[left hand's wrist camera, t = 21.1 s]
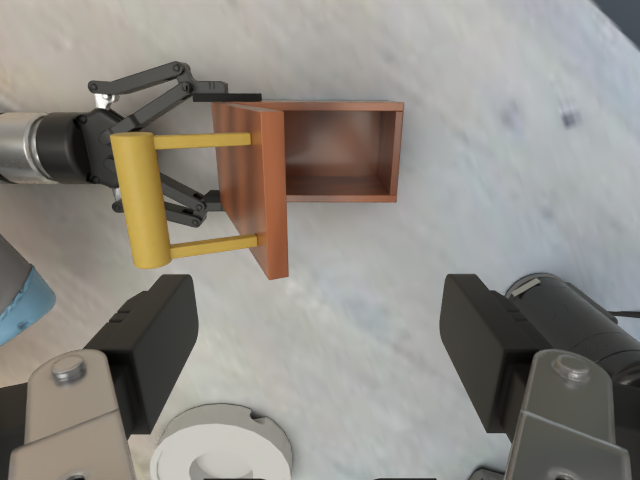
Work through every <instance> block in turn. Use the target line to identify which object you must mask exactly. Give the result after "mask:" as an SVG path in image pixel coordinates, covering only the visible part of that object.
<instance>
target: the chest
mask: <svg viewBox="0 0 640 480" xmlns="http://www.w3.org/2000/svg"><path fill="white" fill-rule="evenodd" d="M225 102H227V103H233V104H240V105H246V106H253V107H259V108H266V109H273V110H279V111H284V137H285V171H286V202H396V200H397V186H398V174H399V161H400V148H401V135H402V122H403V110H404V103H402V102H395V101H388V100H262V101H258V102H246V101H225Z"/></svg>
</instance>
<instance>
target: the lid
mask: <svg viewBox="0 0 640 480" xmlns="http://www.w3.org/2000/svg"><path fill="white" fill-rule="evenodd" d="M211 104H212V115H213V126H214V133H209V134H181V135H154V134H153V133H150V132H125V133H115V134H111V135H110V140H111V145H112V151H113V156H114V161H115V166H116V172H117V177H118V182H119V188H120V193H121V198H122V203H123V209H124V214H125V219H126V225H127V230H128V235H129V240H130V246H131V251H132V256H133V262H134V265H135V266H136V267H137V268H141V269H152V268H158V267H162V266H164V265H167V264H168V263H170V262H171V260H172V259H174V258H181V257H188V256H195V255H202V254H208V253H215V252H222V251H229V250H236V249H243V248H249V249H250V251H251V253H252V254H253V256H254V257H255V259H256V261H257V262H258V264H259V265H260V267H261V268H262V270H263V272H264V273H265V275H266V276H267V278H268V279H269V280H273V279H278V278H284V277H288V276H289V274H288V239H287V205H286V171H285V137H284V111H279V110H273V109H266V108H259V107H253V106H246V105H240V104H233V103H227V102H211ZM201 147H216V158H217V169H218V179H219V190H220V201H221V205H222V207H223V208H224V210H225V211H226V213H227V215H228V216H229V218H230V219H231V221H232V223H233V224H234V226H235V227H236V229H237V230H238V232H239V234H240V236H233V237H225V238H217V239H210V240H202V241H195V242H187V243H180V244H172V245H170V240H169V233H168V226H167V219H166V213H165V206H164V199H163V193H162V186H161V179H160V172H159V166H158V159H157V152H156V150H159V149H180V148H201Z"/></svg>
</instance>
